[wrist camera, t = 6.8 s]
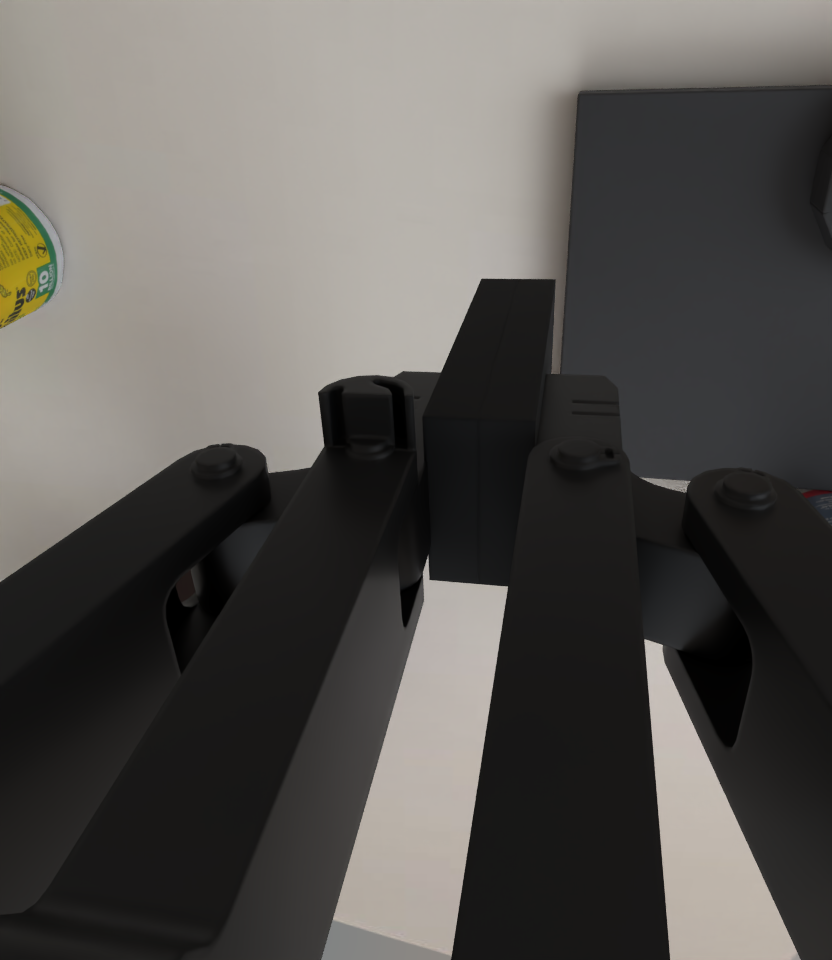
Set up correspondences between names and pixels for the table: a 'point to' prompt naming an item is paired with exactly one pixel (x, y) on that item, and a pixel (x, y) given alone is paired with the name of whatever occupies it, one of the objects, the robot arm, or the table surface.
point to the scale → (707, 275)
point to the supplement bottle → (26, 257)
